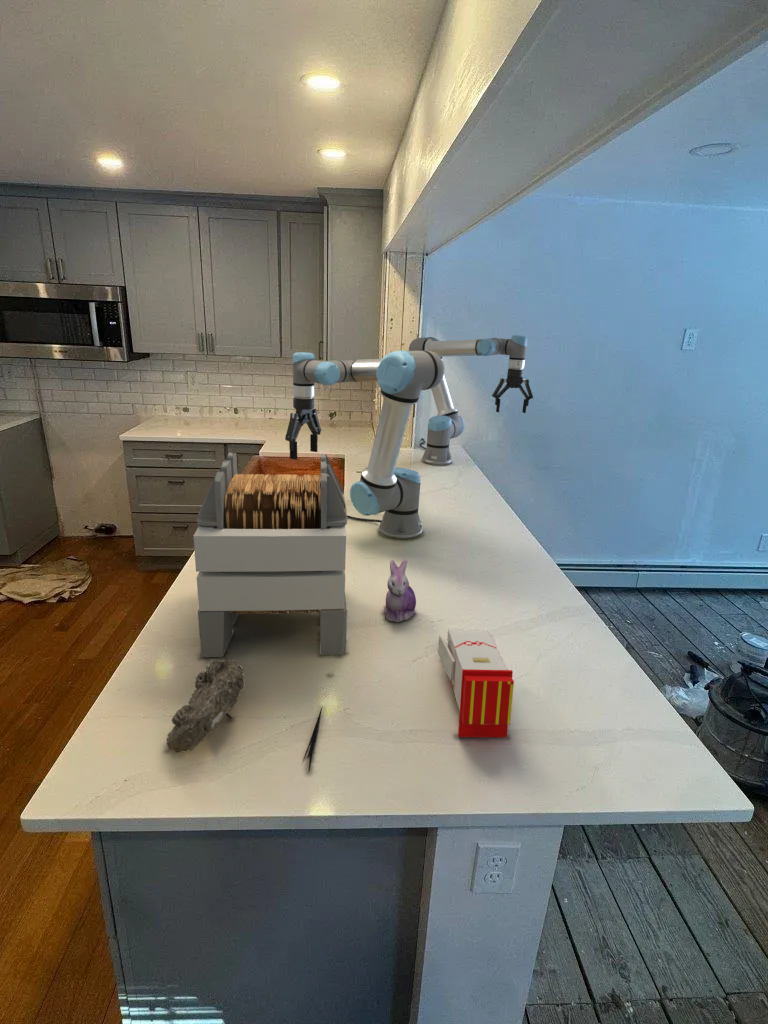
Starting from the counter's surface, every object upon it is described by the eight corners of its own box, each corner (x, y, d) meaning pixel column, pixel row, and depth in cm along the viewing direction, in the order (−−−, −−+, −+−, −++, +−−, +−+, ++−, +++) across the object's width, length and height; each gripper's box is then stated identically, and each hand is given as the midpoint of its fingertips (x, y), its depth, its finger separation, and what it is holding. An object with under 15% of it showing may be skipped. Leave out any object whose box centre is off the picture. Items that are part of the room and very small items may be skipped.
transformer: (222, 587, 156) (213, 443, 143) (341, 586, 160) (343, 445, 146) (198, 659, 125) (184, 483, 111) (346, 655, 129) (350, 484, 115)
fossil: (192, 660, 117) (244, 628, 112) (224, 691, 120) (276, 661, 115) (142, 746, 98) (202, 712, 93) (182, 779, 101) (242, 748, 96)
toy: (488, 613, 130) (523, 677, 101) (484, 667, 133) (517, 744, 104) (435, 612, 130) (455, 676, 101) (432, 666, 133) (451, 743, 103)
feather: (331, 679, 122) (336, 673, 122) (307, 777, 96) (313, 769, 95) (324, 675, 122) (329, 669, 121) (298, 772, 95) (304, 764, 95)
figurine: (392, 627, 141) (395, 572, 136) (374, 608, 149) (376, 556, 144) (425, 619, 145) (429, 566, 140) (405, 601, 154) (408, 550, 149)
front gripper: (313, 392, 215) (313, 447, 222) (274, 400, 193) (275, 460, 201) (330, 394, 212) (330, 449, 219) (292, 402, 190) (293, 463, 198)
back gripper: (493, 368, 270) (488, 413, 277) (543, 370, 273) (537, 414, 280) (488, 366, 277) (484, 410, 284) (537, 368, 280) (532, 411, 287)
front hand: (304, 455), depth 210 cm, fingers open, 13 cm apart
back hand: (510, 412), depth 282 cm, fingers open, 13 cm apart
